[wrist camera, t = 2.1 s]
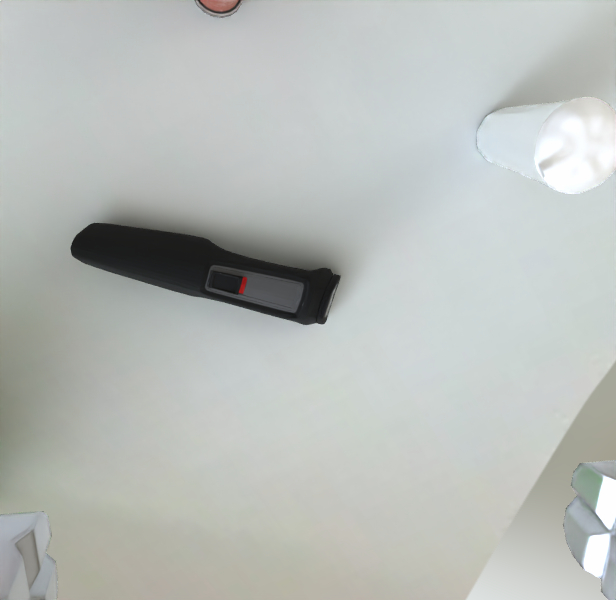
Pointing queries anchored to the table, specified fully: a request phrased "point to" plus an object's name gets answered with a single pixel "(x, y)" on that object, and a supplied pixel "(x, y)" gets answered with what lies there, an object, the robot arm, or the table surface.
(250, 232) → the table surface
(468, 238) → the table surface
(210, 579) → the table surface
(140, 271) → the electric trimmer
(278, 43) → the table surface
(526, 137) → the milkshake
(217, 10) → the lighter
